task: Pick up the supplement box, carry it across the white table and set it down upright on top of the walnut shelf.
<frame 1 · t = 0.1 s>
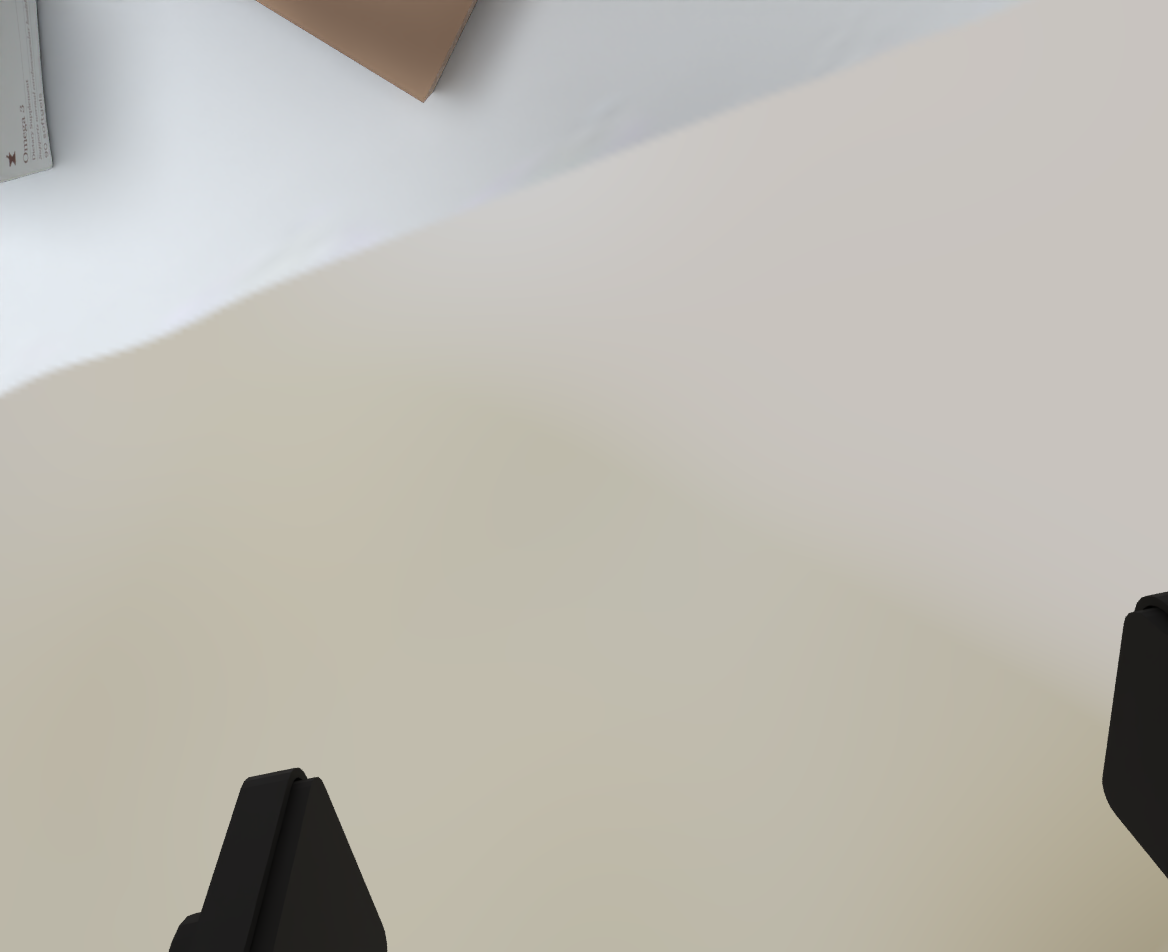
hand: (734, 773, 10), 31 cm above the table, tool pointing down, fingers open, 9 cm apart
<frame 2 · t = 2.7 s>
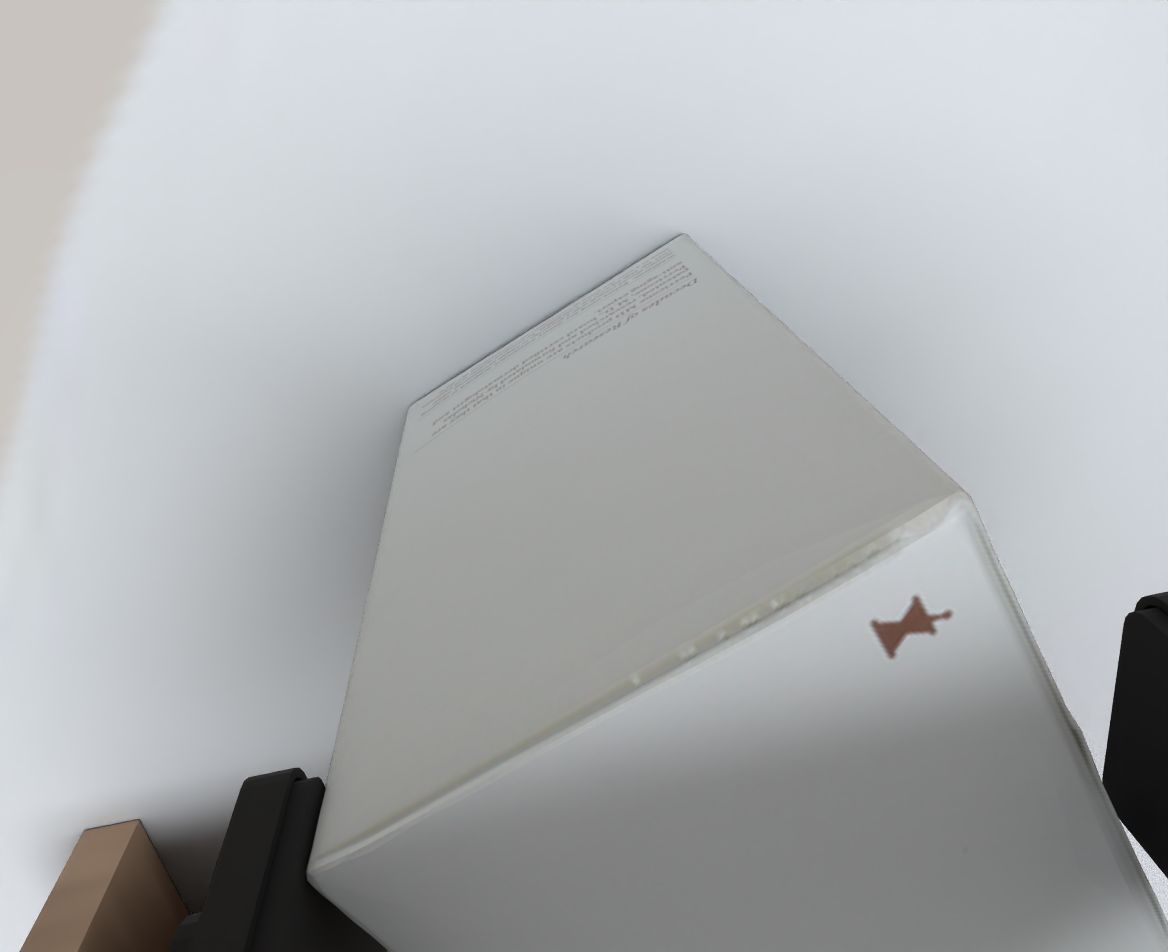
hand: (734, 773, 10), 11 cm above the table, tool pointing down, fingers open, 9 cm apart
supplement box: (622, 444, 21), on the table
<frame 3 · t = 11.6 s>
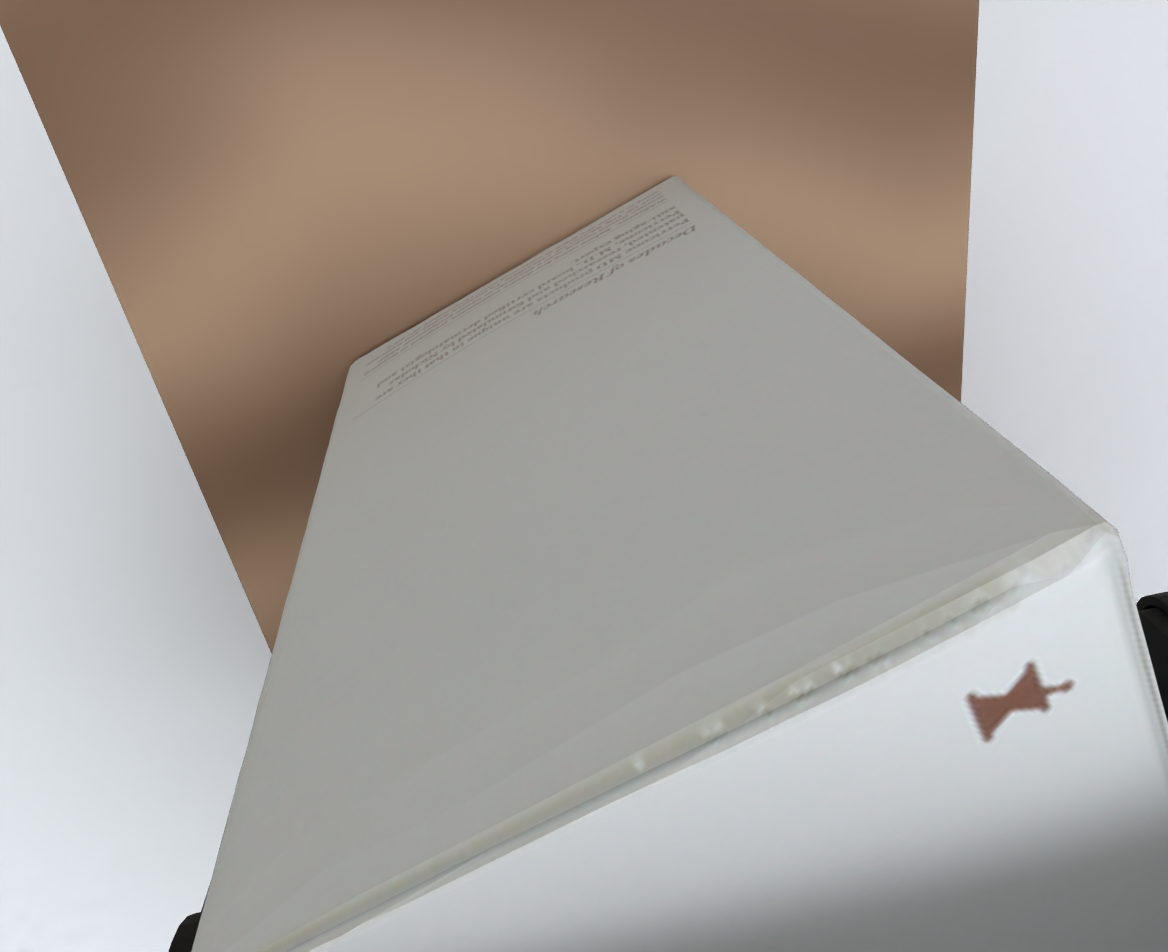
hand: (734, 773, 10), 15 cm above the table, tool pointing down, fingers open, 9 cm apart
supplement box: (593, 415, 18), point 6 cm above the table, touching gripper, walnut shelf
walnut shelf: (558, 319, 23), on the table
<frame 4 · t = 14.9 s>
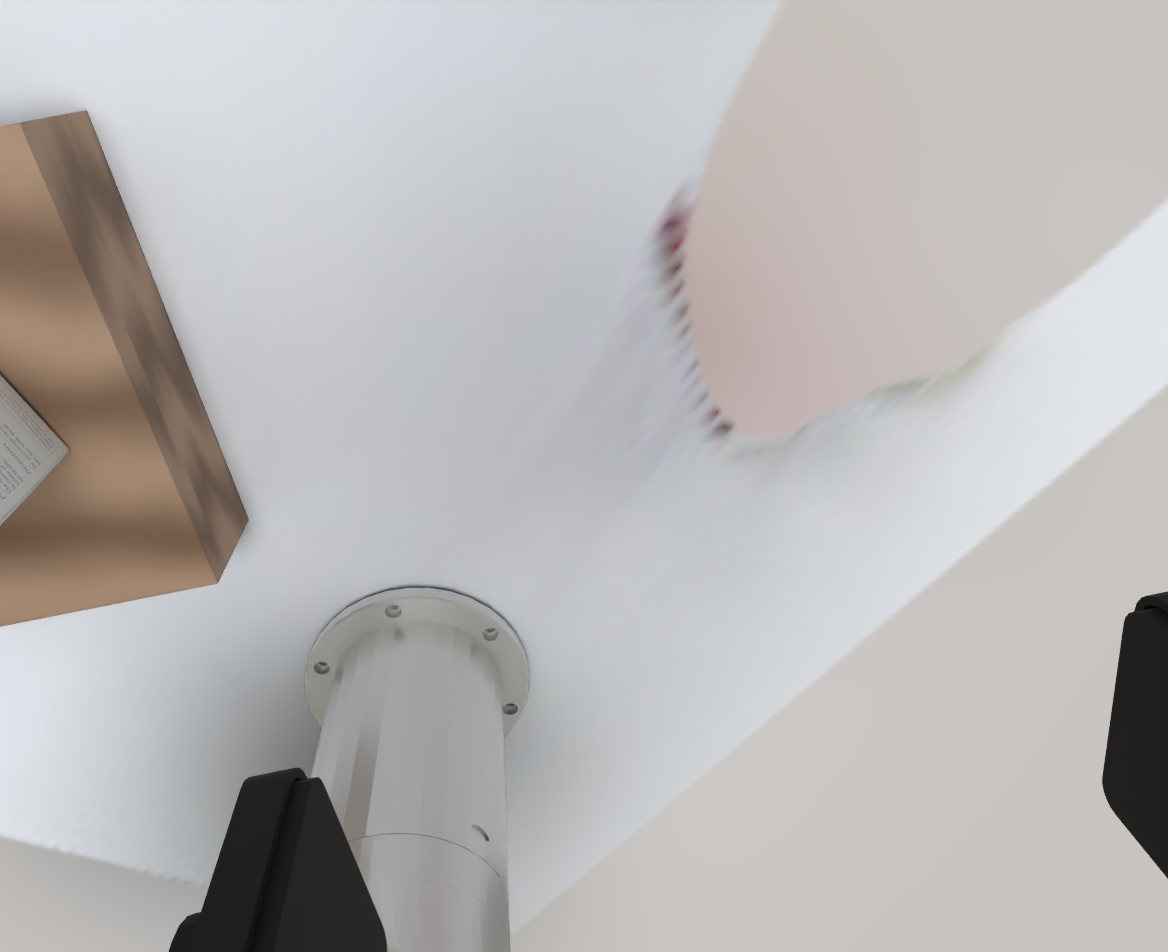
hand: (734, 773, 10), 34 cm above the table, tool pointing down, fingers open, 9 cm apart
walnut shelf: (6, 370, 41), on the table
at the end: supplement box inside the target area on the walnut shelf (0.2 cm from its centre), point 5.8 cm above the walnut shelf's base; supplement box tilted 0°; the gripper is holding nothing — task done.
